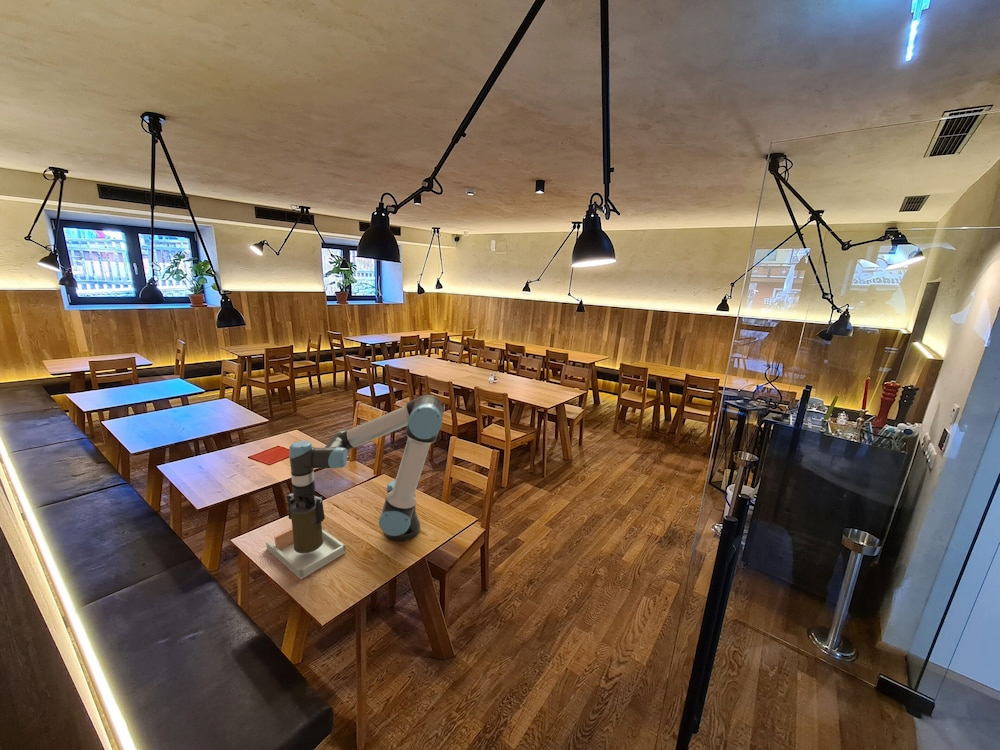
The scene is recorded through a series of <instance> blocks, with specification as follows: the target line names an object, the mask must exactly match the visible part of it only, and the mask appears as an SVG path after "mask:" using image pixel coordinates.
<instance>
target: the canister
mask: <svg viewBox="0 0 1000 750" xmlns="http://www.w3.org/2000/svg"><path fill="white" fill-rule="evenodd" d="M314 501H315V500H314ZM296 503H297V501H296V500H295V502H294V503H293V504H292V505H291V506H290V511H291V519H290V520H291V526H292V527H291V528H292V529H293V539H294V550H295V551H296V552H298V553H309V552H312V551H315V550H317V549H318V548H319V547H320V546H322V544H323V536H322V528H323V525H322V522H321V523H320V527H319V529H318V523H317V522H318V521H317V520H318V517H317V511H316V503H315V506H314V507H313V508H311V509H307V507H306V503H304V501H303V500H300V501H299V502H298V504H299V507H296ZM310 505H311V504H310ZM315 523H317V524H316V525H315Z"/></svg>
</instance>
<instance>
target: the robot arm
mask: <svg viewBox="0 0 1000 750" xmlns="http://www.w3.org/2000/svg"><path fill="white" fill-rule="evenodd" d="M443 415H444V406H443V403H442V401H441V400H440V399H439V398H438V397H437V396H435V395H432V394H424V395H421V396H419V397H416V398H413V400H410V401H407V402H405V405H404V406H402V407H400V408H397V409H395V410H392V411H390V412H388V413H386V414H383V415H381V416H379V417H377V418H376V417H375V419H371V420H369V421H366V422H365V423H362V424H359V425H357V426H355V427H353V428H350V429H348V430H340V431H338V432H336V433H334V435H333V436H332V437H331V438H330V440H329V442H328V443H327V444H326V445H325V447H313V445H312V443H311V442H310V441H309V440H308V441H307V440H300V441H295V442H293V443H291V445H290V446H289V448H288V449H289V451H288V454H289V456H288V459H289V463H290V464H289V465H290V475H291V483H292V492H291V493H289V494H288V495H287V496H286V500H287V503H288V504H287V505H288V506H287V507H288V519H289V520H292V519H291V511H290V506H291V505H292V504H293V503H294V502H296V501H297V503H296V507H299V504H298V502H299V501H300V500H303V501H304V503H306V507H307V509H311V508H313V507H314V506H315V503H316V511H317V517H318V520H317V521H318V522H317V523H318V529H319V527H320V523H321V524H322V522H324V520H325V518H326V516H325V511H324V505H323V504H324V503H323V502H324V497H323V496H317V495H316V492H315V491H316V482H315V470H314V469H342V468H345V466H347V462H348V454H349V453H348V451H351V450H352V449H354V448H357V447H359V446H361V445H364V444H366V443H369V442H371V441H373V440H375V439H378V438H380V437H383V436H386V435H387V434H388V435H389V434H391V433H392V432H396V431H397V430H398V431H399V430H401V429H402V428H404V427H406V429H405V436H406V437H407V439H406V442H405V443H406V444H405V447H404V450H403V454H402V457H401V461H400V464H399V468H398V470H397V474H396V478H395V479H394V480H390V481H389V482H388V483H387V485H386V497H385V500H384V502H383V506H382V507H383V508H382V509H381V514H380V515H379V517H378V526H379V528H380V530H381V531H382V532H383V533H384V535H385V537H386V538H388V539H389V540H392V541H397V542H403V541H408V540H410V539H413V538H415V537H416V536H418V533H420V530H421V522H420V519H419V517H418V514H417V512H416V511H417V510H416V509H417V508H416V505H417V500H416V491H417V489H418V488H417V487H418V484H419V482H420V479H421V475H422V472H423V468H424V465H425V462H426V459H427V456H428V453H429V449H430V446H431V444H434V443H436V440H437V438H438V435H439V432H440V430H441V428H442V426H443V422H444V421H443ZM314 500H315V501H314ZM310 504H311V505H310ZM317 523H315V525H316V524H317Z"/></svg>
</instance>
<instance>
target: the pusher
mask: <svg viewBox="0 0 1000 750" xmlns="http://www.w3.org/2000/svg"><path fill="white" fill-rule="evenodd" d="M293 542H294V539H293V529H292V527H290V528H288V529H286V530H284V531H282V532H280V533H278V534H276V535H274V544H275V546H276V547H277V548H278V549H279V550H280V549H282V548H284V547H286V546H288V545H290V544H291V543H293Z"/></svg>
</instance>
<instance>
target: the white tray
mask: <svg viewBox="0 0 1000 750" xmlns="http://www.w3.org/2000/svg"><path fill="white" fill-rule="evenodd" d="M322 536H323V544H322V546H320V547H319V548H318V549H317V550H315V551H312V552H309V553H298V552H296V551H295V550H294V542H293V543H291V544H290V545H288V546H286V547H284V548H282V549H280V550H279V549H278V548H277V547H276V546H275V543H272V542H271V541H270V540H267V541H266V542H265V544H266V550H267V551H268V552H270V553H271V554H272V555H273V556H274V557H275V558H277V560H278V561H280V563H282V564H283V565H284V566H285V567H286V568H288V570H289V571H291V572H292V573H293V574H294V575H295V576H296V577H298V578H299V579H300V580H302V579H304V578H306V577H308V576H309V575H311V574H313V573H314V572H316V571H317V570H319V569H321V568H322V567H324V566H326V565H327V564H329V563H331V562H332V561H334V560H336V559H337V558H339V557H341V556H342V555H344V554H346V552H347V551H346V545H345V544H344V543H343V542H342V541H340V540H339V539H337V538H335V537H334V536H333V535H331V534H330V533H329V532H327V531H325V530H324V529H322Z"/></svg>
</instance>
